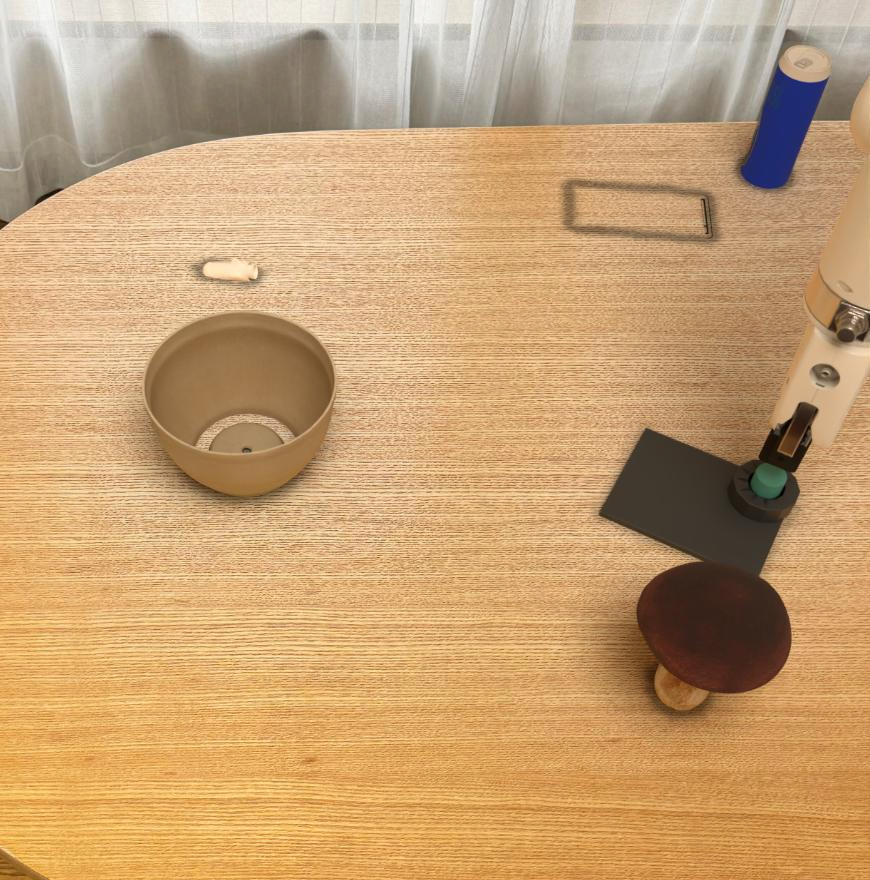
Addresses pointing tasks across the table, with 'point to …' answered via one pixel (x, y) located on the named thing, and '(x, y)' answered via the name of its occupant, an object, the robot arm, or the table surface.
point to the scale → (698, 503)
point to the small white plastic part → (231, 270)
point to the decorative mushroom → (712, 631)
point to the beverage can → (786, 116)
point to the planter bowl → (240, 398)
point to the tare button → (768, 481)
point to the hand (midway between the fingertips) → (778, 459)
